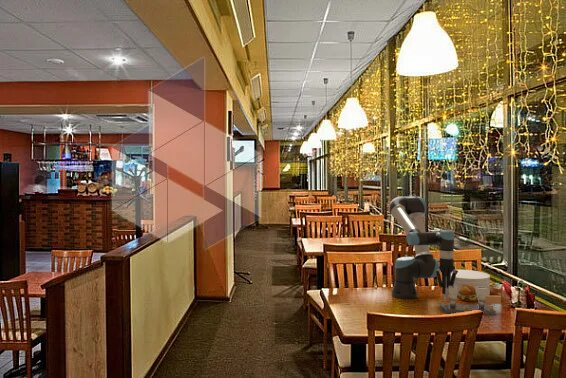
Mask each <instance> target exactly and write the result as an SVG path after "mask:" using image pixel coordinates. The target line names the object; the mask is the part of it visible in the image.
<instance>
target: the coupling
mask: <svg viewBox="0 0 566 378" xmlns="http://www.w3.org/2000/svg"><path fill="white" fill-rule="evenodd" d="M448 292H449V294H448V300H450V299H451V300H456V301H457V300H458V296H457V295H458V288H457V286H449V288H448Z"/></svg>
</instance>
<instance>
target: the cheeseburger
mask: <svg viewBox="0 0 566 378" xmlns="http://www.w3.org/2000/svg"><path fill="white" fill-rule="evenodd" d="M458 293H459V294H460V295H459V296H458V297H459V298H460V299H461V300H462V301H464V302H465V301H466V302H475V301H477V293H476V292H475V288H474V287H473V286H472V285H463V286H462V287H461V288H460V290H459V292H458Z"/></svg>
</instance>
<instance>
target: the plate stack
mask: <svg viewBox="0 0 566 378" xmlns="http://www.w3.org/2000/svg"><path fill="white" fill-rule="evenodd" d="M456 270H457V271H458V273H457V274H456V278H455V281H454V285H453V286H457V288H458V292H459V290H460V288H461V287H462V286H463V285H472V286H473V287H474V288H475V292H476V287H485V288H487V295H490V294H491V293H490V292H491V291H490V290H491V288H490V287H491V284H490V283H491V275H490V274H489V273H486V272H483V271H479V270H478V271H477V270H471V269H456ZM452 273H453V272H452ZM452 273H451V276H452ZM451 276H450V280H451ZM446 288H447V287H446ZM459 295H460V294H459V293H458V295H457V297H460V296H459Z"/></svg>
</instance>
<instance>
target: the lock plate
mask: <svg viewBox="0 0 566 378" xmlns="http://www.w3.org/2000/svg"><path fill="white" fill-rule="evenodd" d="M439 308H440V309H441V310H442V312H443V313H444V314H454V313H456V312H464V311H472V310H481V311H483V312H484V314H483V315H487V316H488V315H490V316H491V315H492V316H493V315H494V316H497V315H496V314H497V311H496V310H495V309H494V306H490V305H488V304H485V303H484V301H481V300H478V301H477V304H476V303H475V304H473V303H471V304H469V303H467V304H466V303H457V300H451V299H449V303H439Z"/></svg>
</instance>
